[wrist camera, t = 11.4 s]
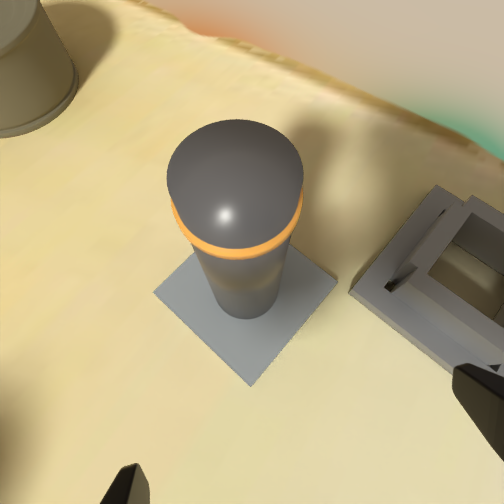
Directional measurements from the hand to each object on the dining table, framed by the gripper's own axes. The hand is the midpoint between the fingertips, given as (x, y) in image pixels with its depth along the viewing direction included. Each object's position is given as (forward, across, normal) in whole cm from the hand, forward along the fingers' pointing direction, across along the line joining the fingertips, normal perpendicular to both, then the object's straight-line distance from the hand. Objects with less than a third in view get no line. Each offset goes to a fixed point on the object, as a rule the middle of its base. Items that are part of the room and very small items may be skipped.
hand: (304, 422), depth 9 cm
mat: (+14, 0, +3) cm, 14 cm away
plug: (+14, 0, +3) cm, 14 cm away
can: (+31, +16, -14) cm, 38 cm away
